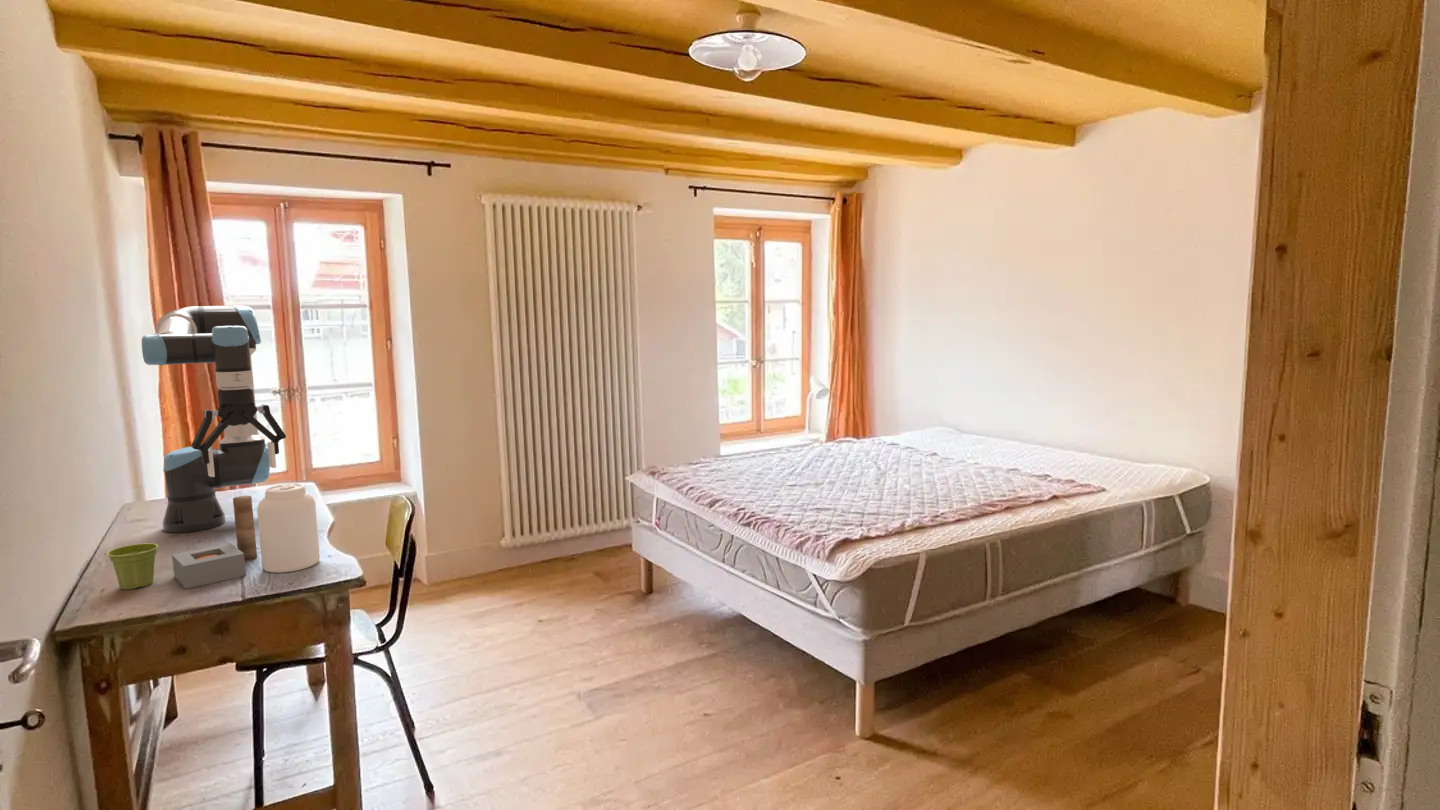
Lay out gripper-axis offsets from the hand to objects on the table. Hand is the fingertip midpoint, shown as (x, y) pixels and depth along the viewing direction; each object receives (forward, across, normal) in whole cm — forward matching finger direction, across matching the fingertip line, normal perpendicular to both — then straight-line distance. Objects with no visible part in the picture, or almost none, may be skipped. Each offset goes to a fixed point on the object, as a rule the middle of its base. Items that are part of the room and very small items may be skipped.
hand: (243, 471), depth 191 cm
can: (+23, +5, -14) cm, 27 cm away
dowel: (+23, -1, 0) cm, 23 cm away
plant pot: (+23, -24, -2) cm, 33 cm away
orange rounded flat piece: (+20, -11, -8) cm, 24 cm away
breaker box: (+23, -11, -8) cm, 26 cm away
